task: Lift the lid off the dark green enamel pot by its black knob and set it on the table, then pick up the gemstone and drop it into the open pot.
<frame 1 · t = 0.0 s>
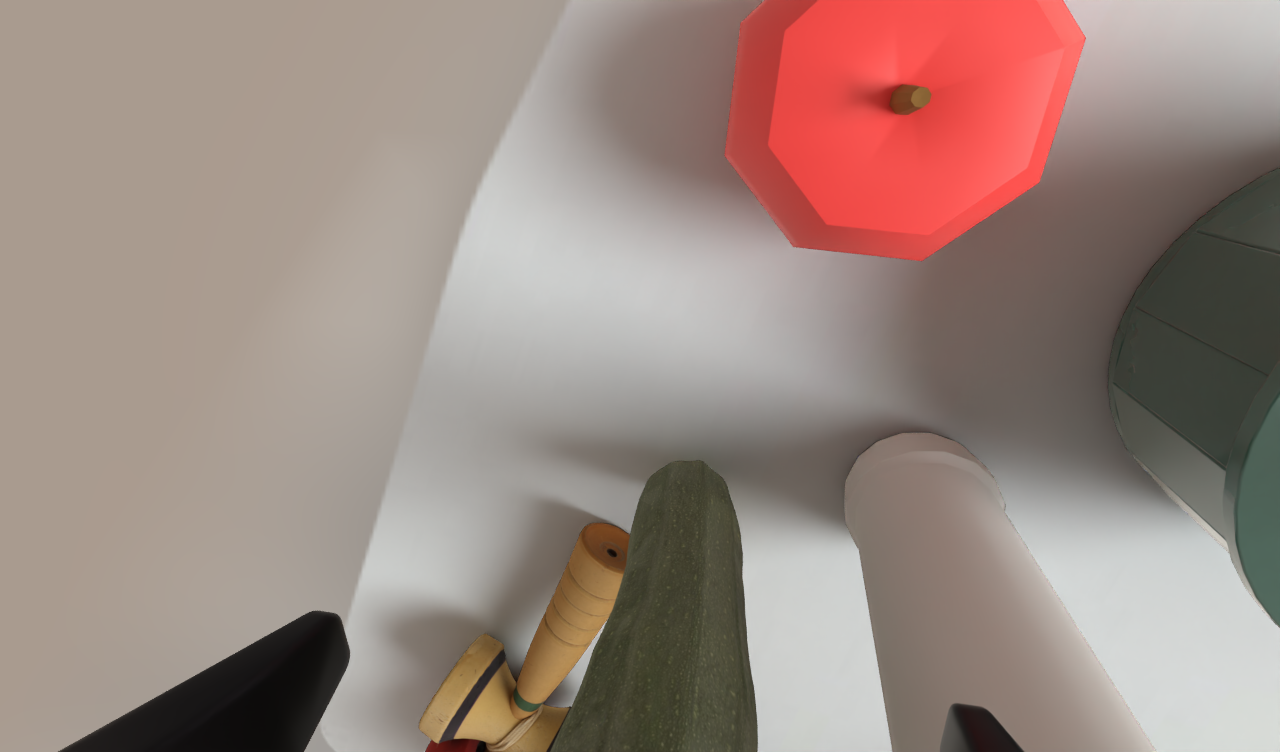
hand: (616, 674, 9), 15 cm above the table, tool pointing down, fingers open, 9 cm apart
vegetable: (708, 464, 24), on the table
kendama: (546, 645, 30), on the table
apple: (861, 106, 18), on the table
bottle: (911, 484, 23), on the table
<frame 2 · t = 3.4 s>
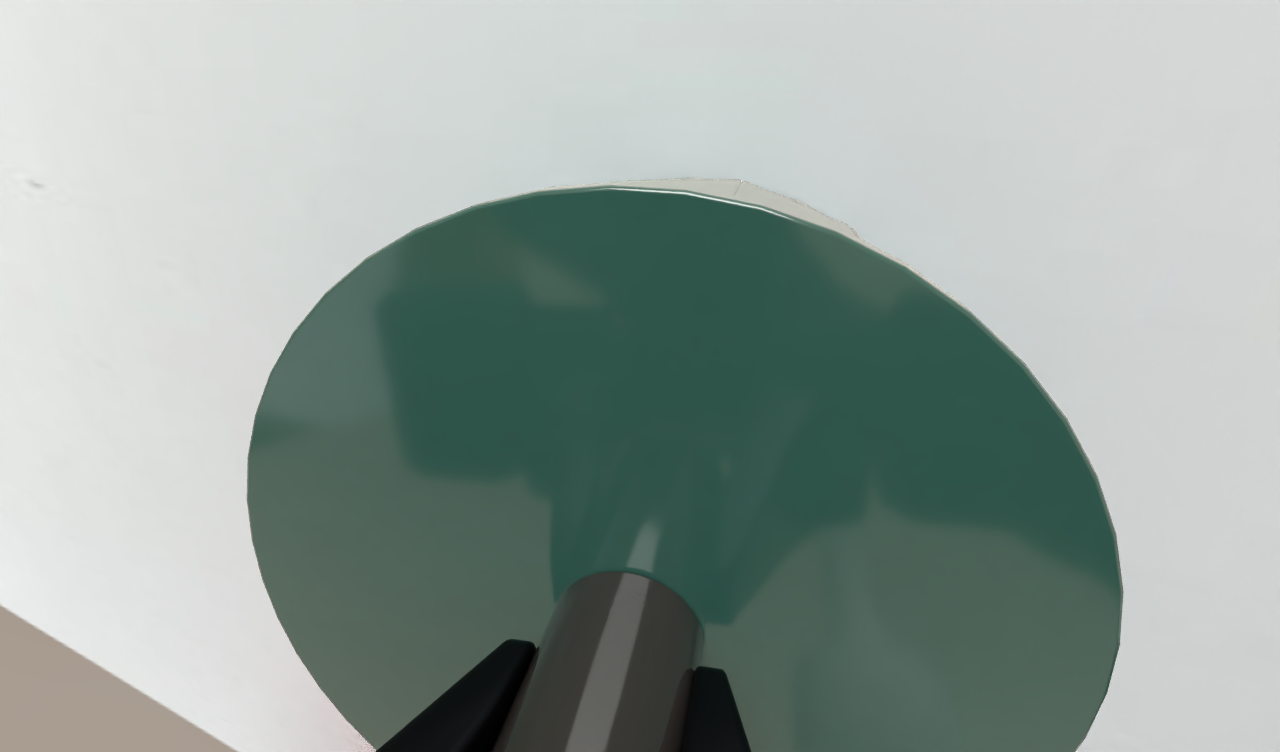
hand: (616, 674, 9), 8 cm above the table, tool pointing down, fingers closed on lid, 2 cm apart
lid: (634, 607, 10), point 7 cm above the table, touching gripper, pot
pot: (685, 426, 16), on the table
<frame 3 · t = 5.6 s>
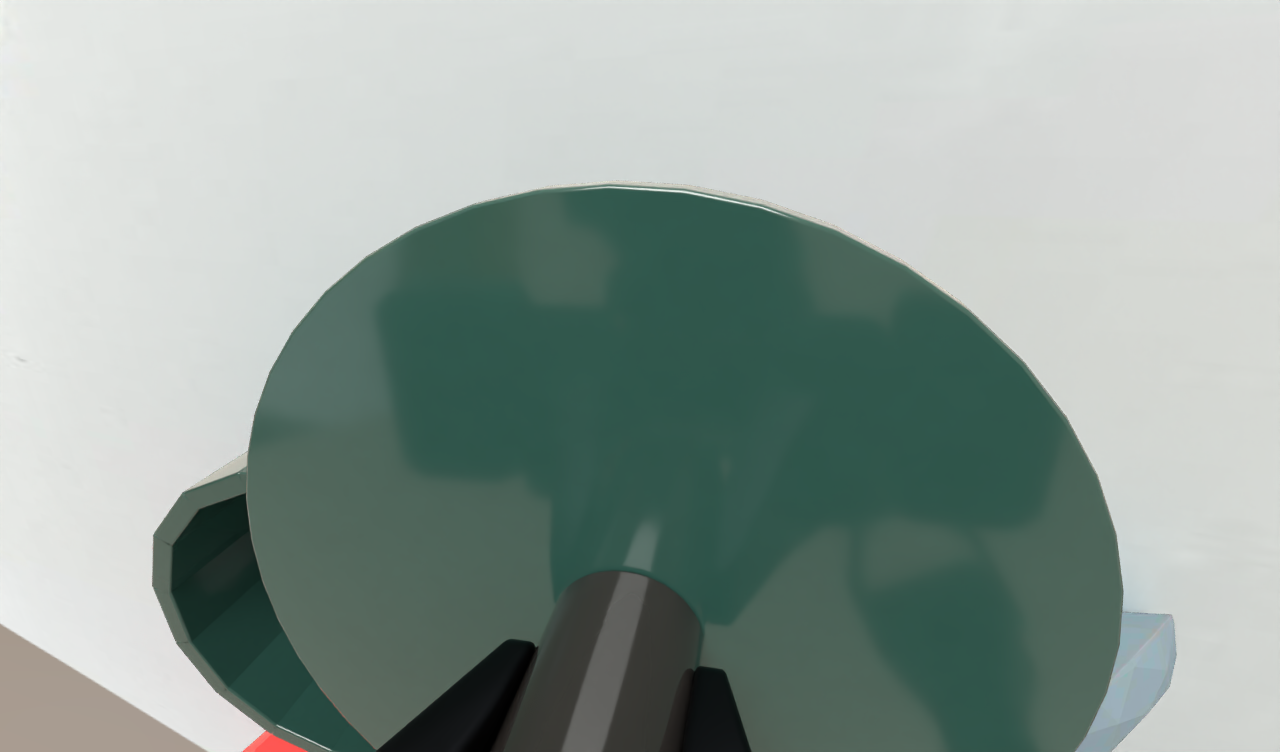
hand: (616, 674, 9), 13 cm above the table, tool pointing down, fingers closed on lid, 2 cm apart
lid: (634, 606, 10), point 11 cm above the table, touching gripper
pot: (426, 520, 26), on the table
apple: (350, 730, 33), on the table
gemstone: (1046, 630, 22), on the table
when the fingers open (2 cm above the table, at t = 8.3 s): lid stays where it is, point 1 cm above the table.
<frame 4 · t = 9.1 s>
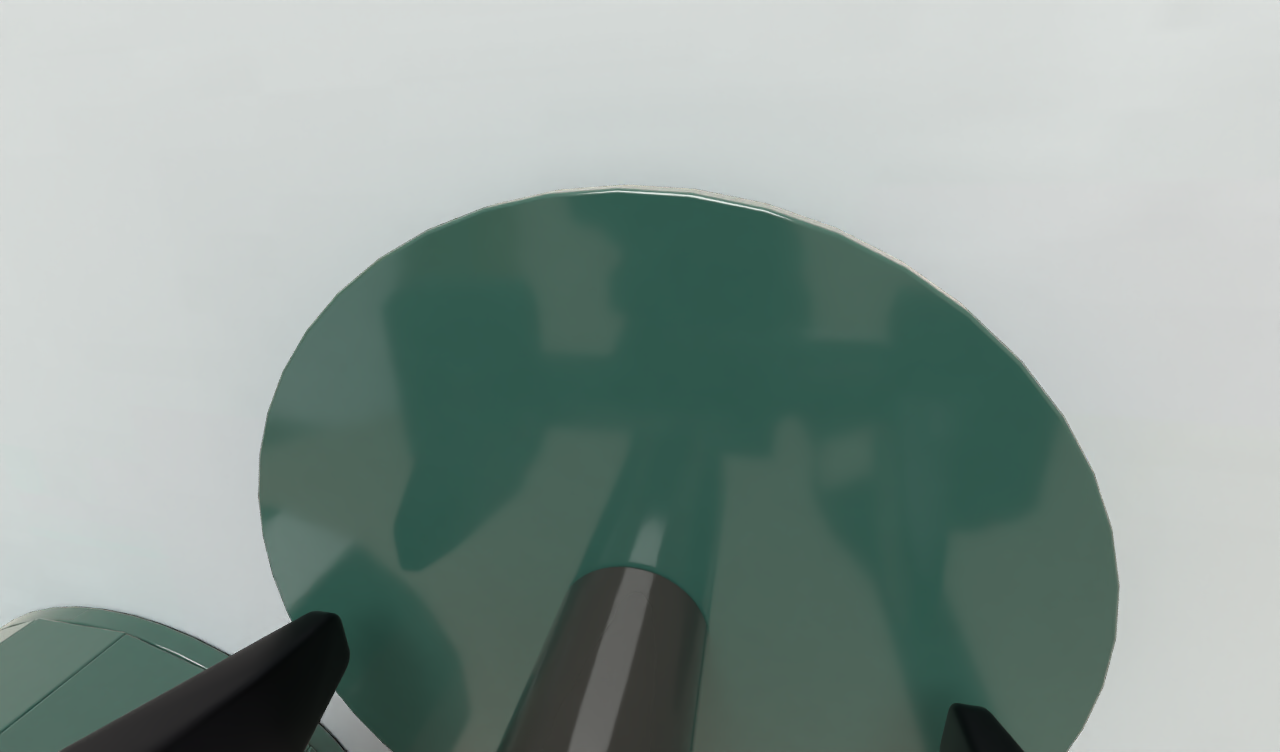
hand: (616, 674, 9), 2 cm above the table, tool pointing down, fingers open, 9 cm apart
lid: (639, 602, 10), point 1 cm above the table
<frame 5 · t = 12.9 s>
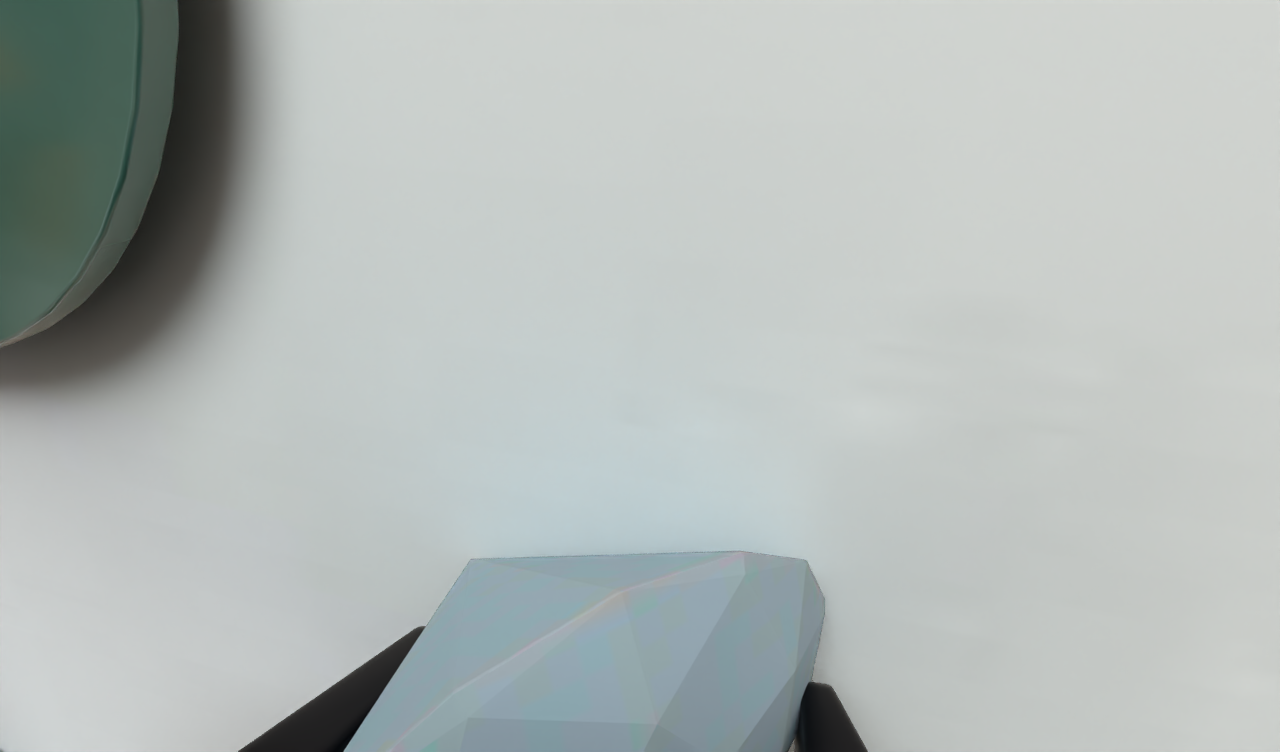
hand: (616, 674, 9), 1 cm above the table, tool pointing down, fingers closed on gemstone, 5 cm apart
gemstone: (633, 612, 10), on the table, touching gripper
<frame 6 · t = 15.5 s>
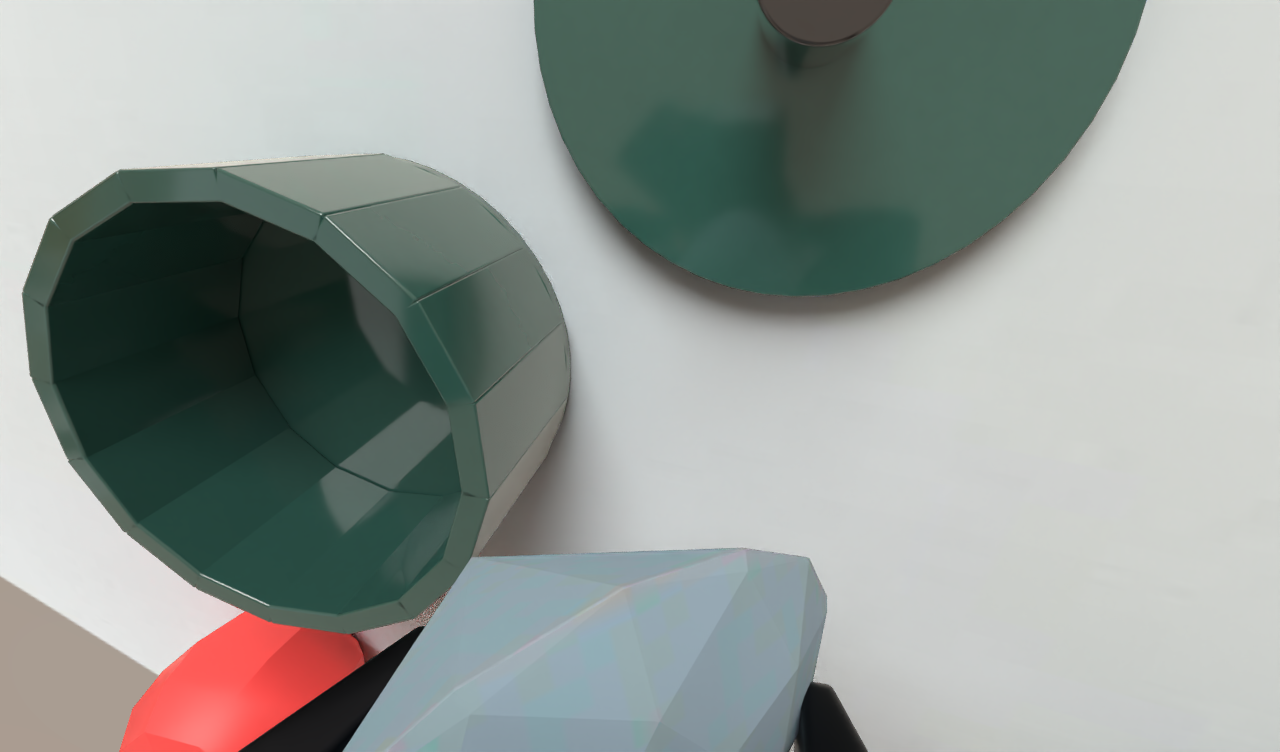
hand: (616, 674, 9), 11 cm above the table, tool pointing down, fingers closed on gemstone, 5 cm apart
lid: (812, 12, 14), point 1 cm above the table
pot: (396, 346, 21), on the table
apple: (319, 640, 28), on the table
gemstone: (634, 610, 10), point 10 cm above the table, touching gripper
when the fingers open (5 cm above the table, at t = 18.5 s): gemstone drops 3 cm, resting on pot.
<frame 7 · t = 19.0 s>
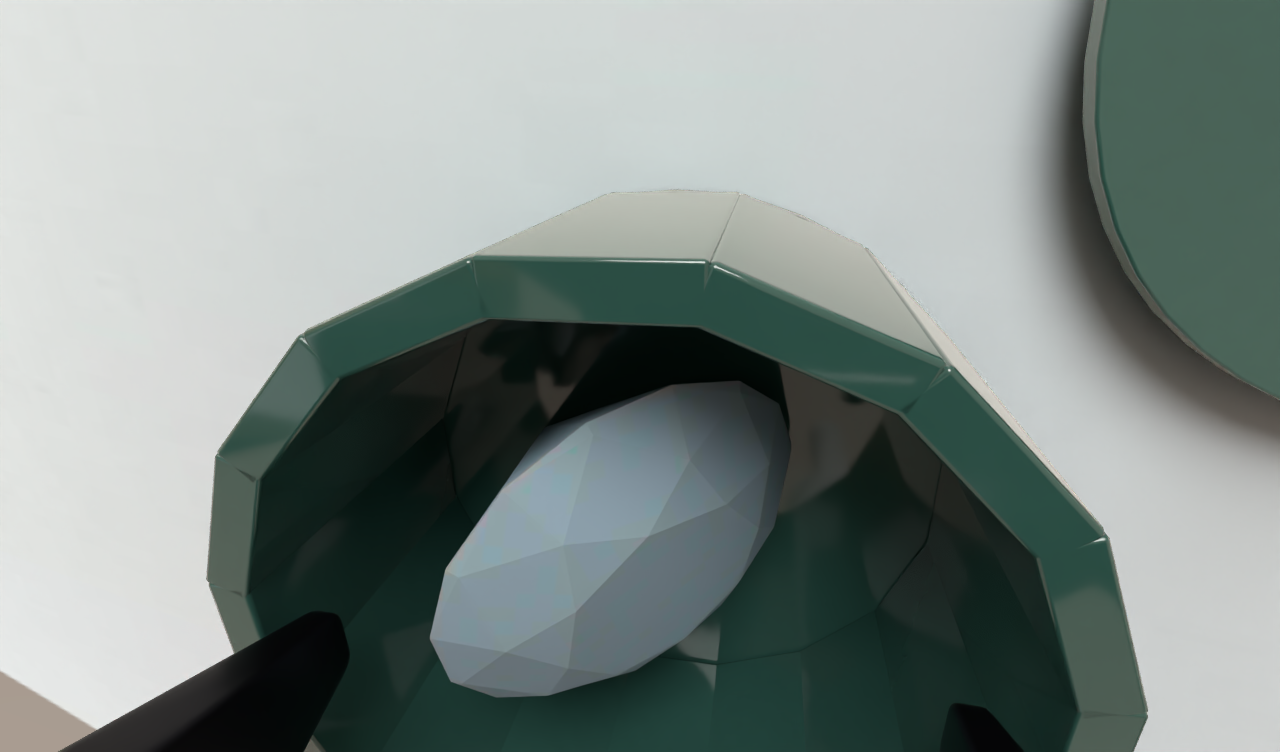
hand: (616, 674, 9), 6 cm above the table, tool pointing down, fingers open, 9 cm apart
pot: (677, 464, 14), on the table
gemstone: (658, 467, 14), resting on pot
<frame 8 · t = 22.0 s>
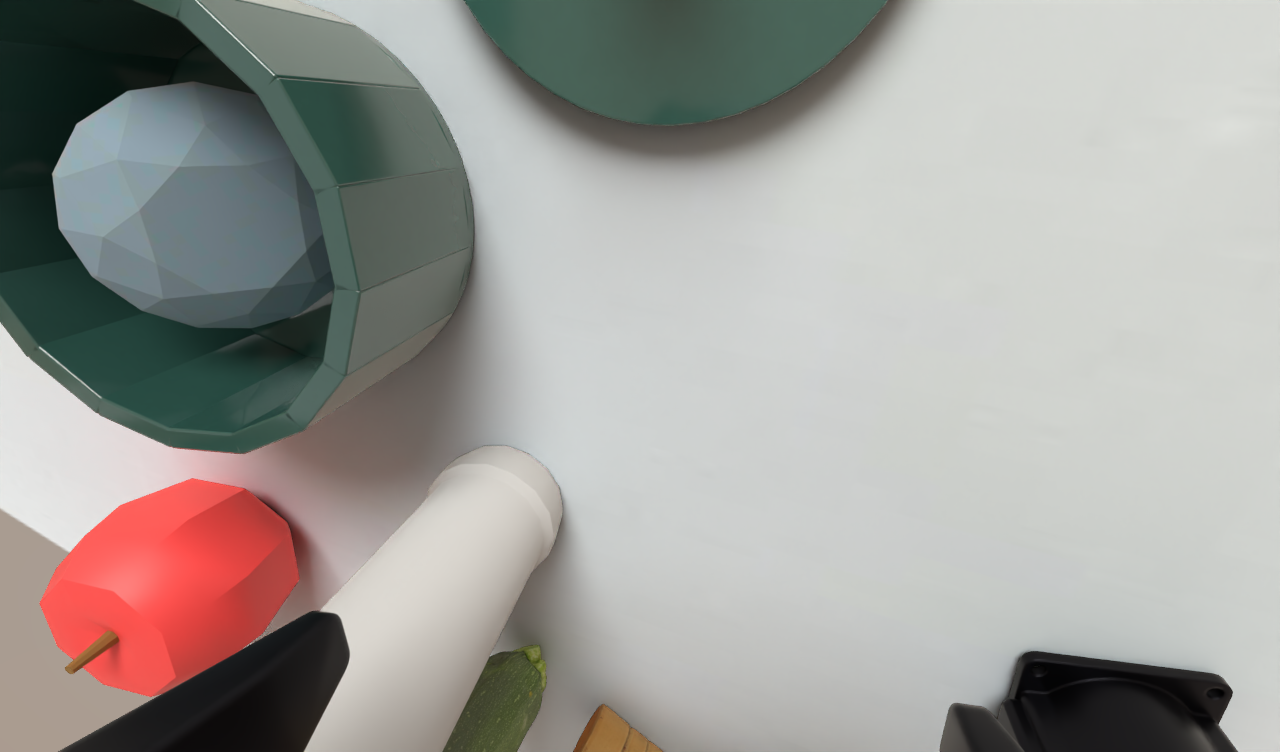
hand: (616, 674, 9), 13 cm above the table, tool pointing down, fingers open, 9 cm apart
vegetable: (523, 635, 28), on the table
pot: (308, 205, 21), on the table
apple: (252, 527, 28), on the table
bottle: (508, 493, 25), on the table
gemstone: (292, 205, 21), resting on pot
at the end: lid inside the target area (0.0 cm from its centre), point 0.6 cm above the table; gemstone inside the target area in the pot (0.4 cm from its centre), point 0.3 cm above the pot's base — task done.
